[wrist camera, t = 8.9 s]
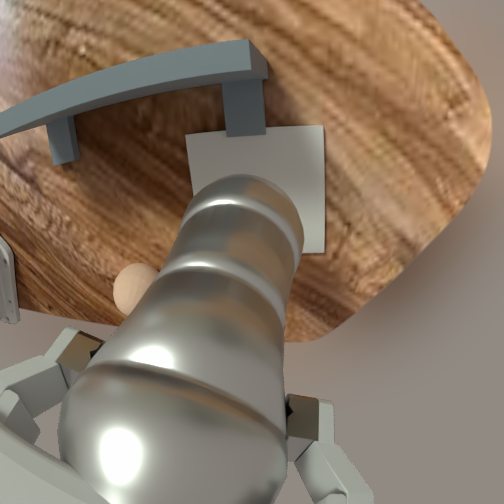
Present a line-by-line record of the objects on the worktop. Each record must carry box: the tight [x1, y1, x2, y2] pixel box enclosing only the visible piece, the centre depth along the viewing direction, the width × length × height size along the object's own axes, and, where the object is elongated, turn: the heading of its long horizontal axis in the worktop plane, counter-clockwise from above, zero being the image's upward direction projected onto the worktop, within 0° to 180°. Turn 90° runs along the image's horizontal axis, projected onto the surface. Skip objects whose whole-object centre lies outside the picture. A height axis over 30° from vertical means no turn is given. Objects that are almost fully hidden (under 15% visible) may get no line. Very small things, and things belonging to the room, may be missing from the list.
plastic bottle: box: [57, 174, 305, 504], centre depth 11 cm, size 6×7×20 cm
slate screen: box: [0, 39, 269, 165], centre depth 20 cm, size 6×22×10 cm, turn 95°
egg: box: [113, 263, 159, 316], centre depth 30 cm, size 5×5×6 cm
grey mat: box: [185, 125, 325, 253], centre depth 26 cm, size 11×11×1 cm
